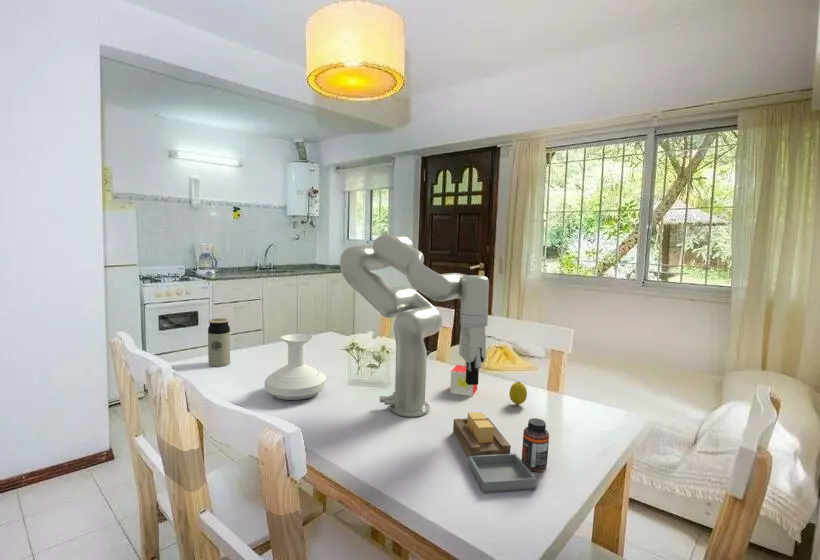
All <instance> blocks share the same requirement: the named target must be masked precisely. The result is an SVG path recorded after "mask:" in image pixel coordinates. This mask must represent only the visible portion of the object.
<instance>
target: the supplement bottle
mask: <svg viewBox="0 0 820 560" xmlns="http://www.w3.org/2000/svg"><path fill="white" fill-rule="evenodd" d="M546 428H547V424H546V421H545V420H544V419H540V418H535V417H534V418H529V419H528V424H527V426H526V427H525V428H524V429H523V434H522V449H521V460H522V462H523V463H524V464H525V465H526V467H527V468H528V469H529V470H530V472H536V473H538V472H539V473H540V472H543V471H545V470H547V467H548V457H549V456H548V454H549V444H550V433H549V431H548V430H547V429H546Z"/></svg>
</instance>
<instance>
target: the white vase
mask: <svg viewBox="0 0 820 560" xmlns="http://www.w3.org/2000/svg"><path fill="white" fill-rule="evenodd" d="M312 338H313V336H312V335H310V334H307V333H291V334H285V335H282V336H280V339H281V341H283V342H284V343H286V344H287V364H286V365H284V366H282V367H280V368H278V369H276V370H275V371H273V372H272V373H271V374H270V375H268V376H267V377H266V378H265V380H264V389H265V390H266V392H267V393H269V394H271V396H274V397H275V398H277V399H279V400H286V401H299V400H305V399H309V398H312V397H314V396H316V395H317V394H319V393H320V392H321V391H322V390H323V389H325V388H326V385H327V375H325V374H324V373H323V372H322V371H320V370H319V369H317V368H315V367H314V366H311V365H309V364H307V363H306V361H305V358H306V357H305V356H306V355H305V352H306V351H305V349H306V348H305V346H306V344H307V343H308V342H309V341H311V340H312Z"/></svg>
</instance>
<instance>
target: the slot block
mask: <svg viewBox="0 0 820 560" xmlns="http://www.w3.org/2000/svg"><path fill="white" fill-rule="evenodd" d="M486 418H487V420H489V422H490V423H491V424H492V425H493V427H494V433H493V442H486V443H478V442H477V441H476V439H475V438H474V436H473V434H472V433H471V432H470V430H469V429H468V427H467V421H468V417H467V418H454V419H453V425H452V426H453V429H452V430H453V431H452V434H453V435H454V437H455V439H456V440H457V442H458V444H459V446H460V447H461V449H462V451H463V452H464V454H465V456H466V458H467V459H468V456H475V455H493V454H511V447H512V445H511V444H510V443H509V442H508V441H507V439H506V438H505V437H504V435H503V434H502V433H501V432H500V431H499V430H498V428H497V427H496V425H495V424H494V422H492V421H491V420H490V418H489V417H486Z"/></svg>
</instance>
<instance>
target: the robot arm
mask: <svg viewBox="0 0 820 560" xmlns="http://www.w3.org/2000/svg"><path fill="white" fill-rule="evenodd" d="M424 259H425V256H424V254H423V252H421V251H420V250H419V249H416V248H415V247H414V244H413V242H412V240H411V239H410V238H409V237H408V236H406V235H404V234H382V235H379V236H377V237H376V239H374V241H373V243H372V245H354V246H350V247H347V248H345V250H343V251H342V252H341V254H340V258H339V267H340V271H341V274H342V277H343V279H344V280H345V282H347V284H348V285H349V286H350V287H351V288H352V289H354V290H355V291H356V292H357V293H359V294H360V295H361V296H362V297H363V299H364V300H366V302H368V304H370V305H371V306H372V307H373V308H374V309H375V310H376V311H377V312H378V313H379V314H380V315H382V316H383V317H385V318H387V319H392V318H393V319H394V318H395V320H394V322H393V332H394V338H395V339H394V340H395V377H394V379H395V380H394V381H395V382H394V391H393V392H392V394H390V395H389V396H386V395H380V396H379V403H380V404H381V403H383V404H384V405H386V406H389V410H390V411H391V413H393V414H394V415H397V416H400V417H409V418H411V417H412V418H417V417H421V416H424V415H426V414H428V413H429V412H430V410H431V409H430V404H429V403H428V402H427V401H426V387H427V386H426V385H427V384H426V383H427V360H428V359H427V358H428V357H427V356H428V355H427V354H428V353H427V348H426V344H425V342H424V341H425V340H424V338H427V337H430V336H433V335H435V334H437V333H438V332H439V331H440V330H441V329H442V326H443V318H442V315H441V313H440V312H439V310H438V309H437V307H435V306H434V305H433V304H432V303H430V302H429V300H427V299H426V298H425V297H424V296H426V297H427V298H429V299H430V300H433V301H436V302H447V301H451V300H457V299H460V321H459V323H460V326H461V327H460V333H459V335H460V336H459V347H458V350H459V351H458V353H459V356H460V358H462V359H463V360H464V361H465V366H466V383H467V384H468V385H477V386H478V385H479V378H480V377H479V375H480V374H479V371H480V369H482V364H481V363H484V362H485V361H486V356H487V355H486V353H487V352H486V350H487V349H486V348H487V347H486V346H487V345H486V344H487V342H486V341H487V340H486V338H487V336H486V327H488V322H489V321H488V320H489V318H488V315H489V293H490V291H489V289H490V281H489V278H488V277H487V276H484V275H477V274H476V275H475V274H474V275H472V274H469V275H468V274H465V273H464V274H463V273H458V272H449V273H441V274H440V273H438V272H437V271H434V270H432V268H429V266H426V265H425V264H424V261H425V260H424ZM388 267H392V268H393V269H395V270H397V271H398V272H400V273H401V274H403V275H404V276H406V279H407V281H408V283H409V284H410V285H411V286H412V287H409V286H392V285H390V284H388V283H387V282H386V280H384V279H383V278H381V277H380V276H379V275H378V274H375V273H374V272H372V271H378V270H383V269H386V268H388ZM421 294H423V295H424V296H423V295H421Z"/></svg>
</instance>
